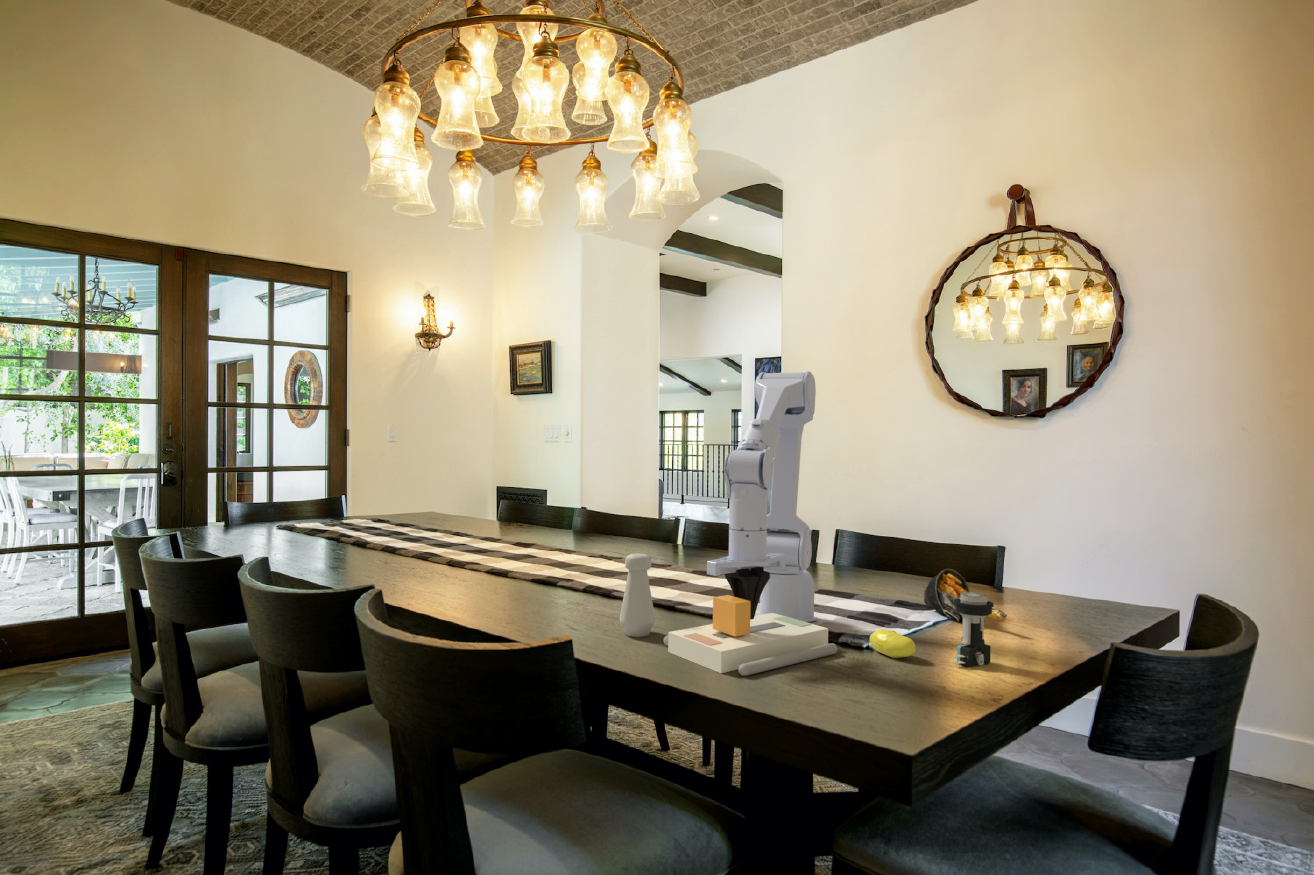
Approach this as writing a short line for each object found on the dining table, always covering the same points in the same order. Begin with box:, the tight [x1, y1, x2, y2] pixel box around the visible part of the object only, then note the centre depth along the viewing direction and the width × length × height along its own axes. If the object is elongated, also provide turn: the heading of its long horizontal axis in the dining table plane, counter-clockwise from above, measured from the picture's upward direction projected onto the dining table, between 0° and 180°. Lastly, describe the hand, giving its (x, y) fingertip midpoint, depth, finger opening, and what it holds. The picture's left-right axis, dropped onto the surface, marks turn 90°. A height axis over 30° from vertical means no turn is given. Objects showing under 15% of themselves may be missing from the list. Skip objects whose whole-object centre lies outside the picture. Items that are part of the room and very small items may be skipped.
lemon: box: [869, 628, 917, 659], centre depth 111 cm, size 4×8×4 cm, turn 28°
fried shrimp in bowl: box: [923, 568, 1008, 622], centre depth 134 cm, size 9×11×18 cm
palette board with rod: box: [663, 635, 838, 677], centre depth 113 cm, size 20×19×2 cm
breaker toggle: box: [712, 594, 751, 636], centre depth 111 cm, size 3×5×5 cm, turn 36°
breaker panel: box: [667, 613, 829, 674], centre depth 113 cm, size 22×12×3 cm, turn 126°
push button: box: [952, 591, 995, 668], centre depth 108 cm, size 7×5×10 cm
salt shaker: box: [619, 552, 656, 638], centre depth 122 cm, size 6×6×13 cm
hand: (746, 618), depth 113 cm, fingers closed
